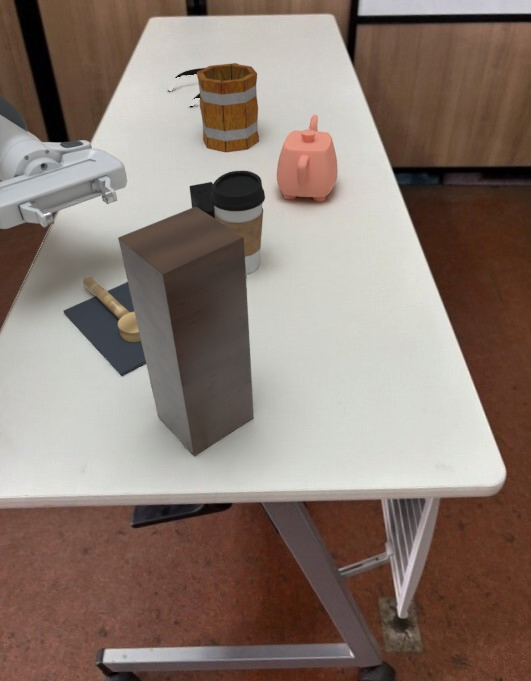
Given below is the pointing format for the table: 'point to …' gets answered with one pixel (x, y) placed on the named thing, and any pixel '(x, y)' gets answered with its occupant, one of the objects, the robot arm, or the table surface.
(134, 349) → the mat
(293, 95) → the table surface
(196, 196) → the digital camera
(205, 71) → the wooden barrel
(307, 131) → the teapot
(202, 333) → the stand
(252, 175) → the coffee cup
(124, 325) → the spoon
